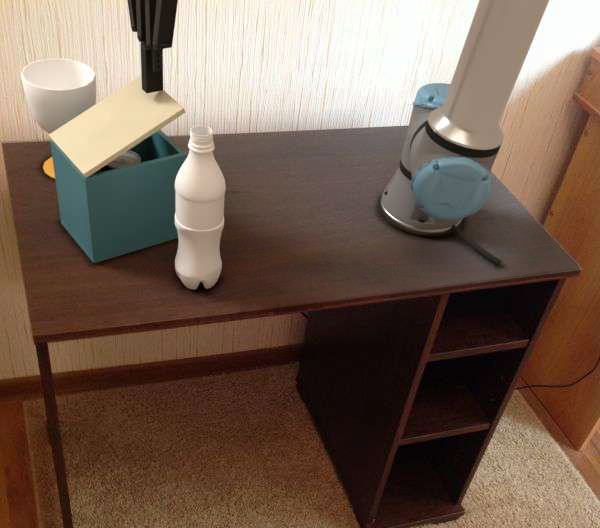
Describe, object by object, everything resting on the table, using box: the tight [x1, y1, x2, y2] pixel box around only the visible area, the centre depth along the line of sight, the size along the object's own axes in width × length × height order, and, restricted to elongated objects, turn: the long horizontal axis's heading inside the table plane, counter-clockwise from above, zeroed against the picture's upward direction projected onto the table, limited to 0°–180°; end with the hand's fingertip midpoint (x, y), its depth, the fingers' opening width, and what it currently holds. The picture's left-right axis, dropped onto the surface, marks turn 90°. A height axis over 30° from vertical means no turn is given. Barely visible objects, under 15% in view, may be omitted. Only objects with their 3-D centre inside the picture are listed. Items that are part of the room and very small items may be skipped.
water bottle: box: [174, 124, 227, 290], centre depth 109 cm, size 7×7×25 cm
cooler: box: [49, 129, 188, 264], centre depth 119 cm, size 17×12×15 cm
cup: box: [20, 57, 97, 180], centre depth 129 cm, size 12×12×17 cm
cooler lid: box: [48, 74, 186, 178], centre depth 111 cm, size 18×12×1 cm
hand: (152, 89), depth 111 cm, fingers closed
